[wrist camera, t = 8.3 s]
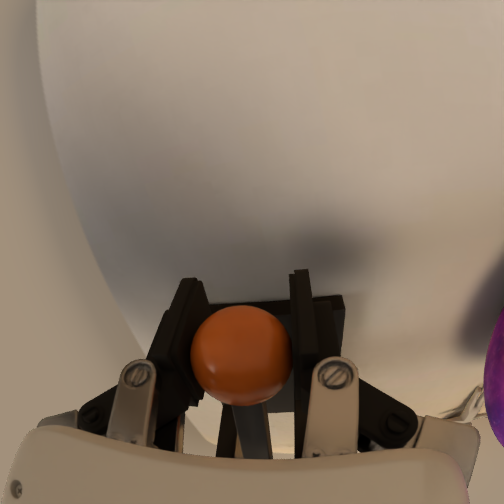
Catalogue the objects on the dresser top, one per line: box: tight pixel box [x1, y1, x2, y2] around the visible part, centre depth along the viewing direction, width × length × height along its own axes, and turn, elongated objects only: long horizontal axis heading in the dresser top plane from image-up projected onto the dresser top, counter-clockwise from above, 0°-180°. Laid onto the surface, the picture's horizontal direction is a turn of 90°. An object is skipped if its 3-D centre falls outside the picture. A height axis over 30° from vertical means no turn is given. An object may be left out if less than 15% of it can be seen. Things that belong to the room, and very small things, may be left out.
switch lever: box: [190, 305, 293, 459], centre depth 10 cm, size 13×3×3 cm, turn 9°
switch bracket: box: [209, 295, 345, 459], centre depth 14 cm, size 12×9×12 cm
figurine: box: [446, 387, 487, 426], centre depth 24 cm, size 8×5×12 cm
